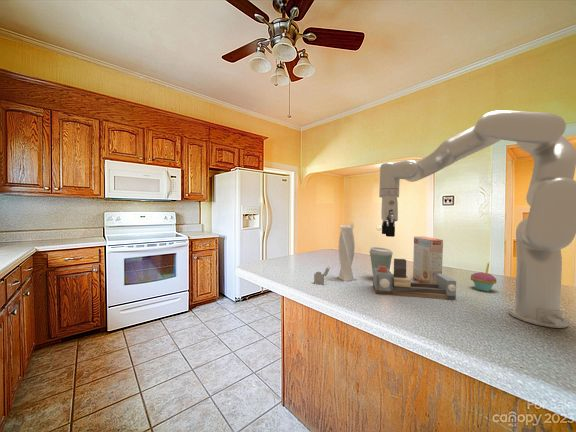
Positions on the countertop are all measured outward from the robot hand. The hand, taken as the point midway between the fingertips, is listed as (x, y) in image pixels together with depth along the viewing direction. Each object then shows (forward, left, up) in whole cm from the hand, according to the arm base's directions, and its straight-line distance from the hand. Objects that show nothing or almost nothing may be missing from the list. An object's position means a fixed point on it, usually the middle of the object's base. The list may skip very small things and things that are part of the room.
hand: (387, 235), depth 98 cm
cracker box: (+16, -20, -23) cm, 34 cm away
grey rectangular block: (0, -22, -23) cm, 32 cm away
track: (0, -9, -23) cm, 25 cm away
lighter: (+3, +27, -23) cm, 36 cm away
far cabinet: (0, +2, -23) cm, 23 cm away
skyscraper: (+13, +16, -24) cm, 31 cm away
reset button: (0, +2, -17) cm, 17 cm away
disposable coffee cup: (+17, 0, -23) cm, 29 cm away
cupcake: (+11, -40, -23) cm, 48 cm away
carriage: (0, -5, -20) cm, 20 cm away
